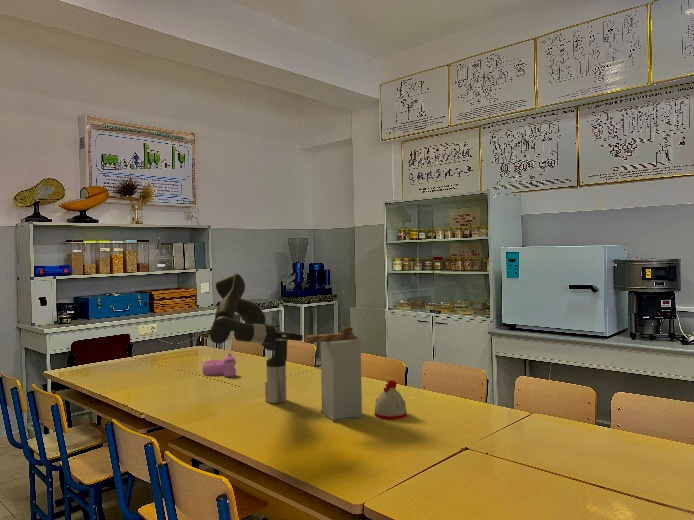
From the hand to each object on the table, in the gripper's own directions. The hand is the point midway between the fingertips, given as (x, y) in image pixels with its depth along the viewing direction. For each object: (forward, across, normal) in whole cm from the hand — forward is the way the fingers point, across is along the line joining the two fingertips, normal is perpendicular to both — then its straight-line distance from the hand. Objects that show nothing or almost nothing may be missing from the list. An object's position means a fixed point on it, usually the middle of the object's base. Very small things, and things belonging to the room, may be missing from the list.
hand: (296, 337), depth 220 cm
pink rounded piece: (+15, -116, -23) cm, 119 cm away
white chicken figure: (+45, +8, -29) cm, 55 cm away
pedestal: (+28, -5, -31) cm, 42 cm away
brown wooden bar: (+17, -2, 0) cm, 17 cm away
